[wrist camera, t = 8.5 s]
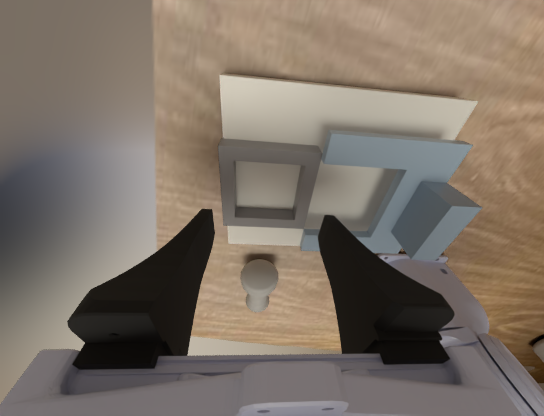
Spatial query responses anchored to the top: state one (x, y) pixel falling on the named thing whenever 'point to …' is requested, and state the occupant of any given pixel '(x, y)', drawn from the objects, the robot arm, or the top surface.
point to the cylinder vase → (539, 348)
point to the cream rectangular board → (311, 152)
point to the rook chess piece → (258, 283)
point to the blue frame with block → (405, 192)
